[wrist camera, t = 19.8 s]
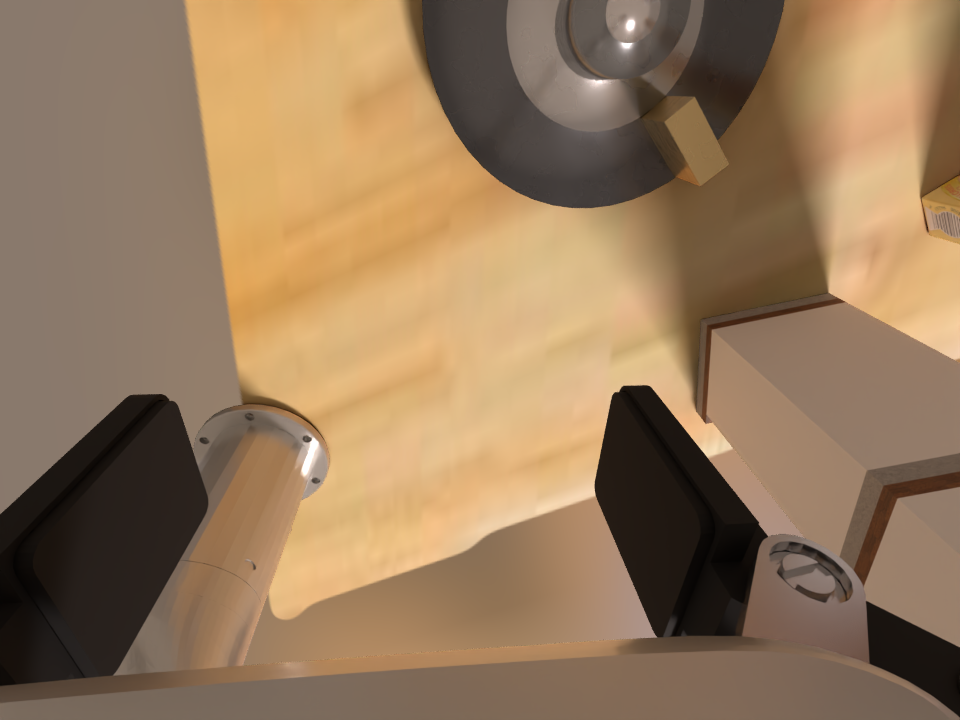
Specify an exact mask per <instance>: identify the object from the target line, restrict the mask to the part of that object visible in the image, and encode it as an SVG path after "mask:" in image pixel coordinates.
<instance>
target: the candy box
mask: <svg viewBox="0 0 960 720" xmlns="http://www.w3.org/2000/svg"><path fill="white" fill-rule="evenodd" d="M921 199H922V203H923V208H924V212H925V217H926V221H927V225H928V230H929V235H930V236H933V237H936V238H940V239H943V240H947V241H950V242H953V243H957V244H960V175H959V176H957V177H955V178H953V179H952V180H950V181H948V182H947V183H945V184H943V185H942V186H940V187H938V188H937V189H935V190H934V191H932V192H930V193H929V194H927V195H925V196H923V197H922V198H921Z"/></svg>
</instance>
